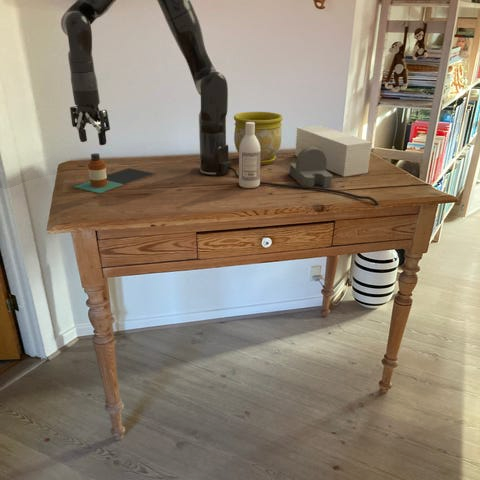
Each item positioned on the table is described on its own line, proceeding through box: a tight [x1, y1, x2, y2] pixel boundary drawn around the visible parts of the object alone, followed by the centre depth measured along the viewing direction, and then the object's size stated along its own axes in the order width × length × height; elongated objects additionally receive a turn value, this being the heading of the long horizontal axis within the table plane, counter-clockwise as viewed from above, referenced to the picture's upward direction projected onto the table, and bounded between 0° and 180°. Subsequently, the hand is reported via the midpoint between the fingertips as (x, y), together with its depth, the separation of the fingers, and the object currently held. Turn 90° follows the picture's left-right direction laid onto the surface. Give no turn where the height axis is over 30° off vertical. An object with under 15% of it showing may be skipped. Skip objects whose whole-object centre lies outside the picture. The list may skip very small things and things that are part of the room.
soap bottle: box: [87, 152, 108, 188], centre depth 170 cm, size 6×6×10 cm
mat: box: [73, 168, 154, 195], centre depth 178 cm, size 12×26×1 cm, turn 147°
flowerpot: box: [233, 111, 284, 166], centre depth 197 cm, size 18×18×16 cm
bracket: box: [289, 147, 334, 188], centre depth 177 cm, size 10×18×11 cm, turn 13°
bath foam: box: [238, 122, 261, 189], centre depth 169 cm, size 7×7×20 cm
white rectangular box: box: [294, 124, 373, 178], centre depth 195 cm, size 32×11×11 cm, turn 27°
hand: (93, 143), depth 166 cm, fingers open, 8 cm apart
